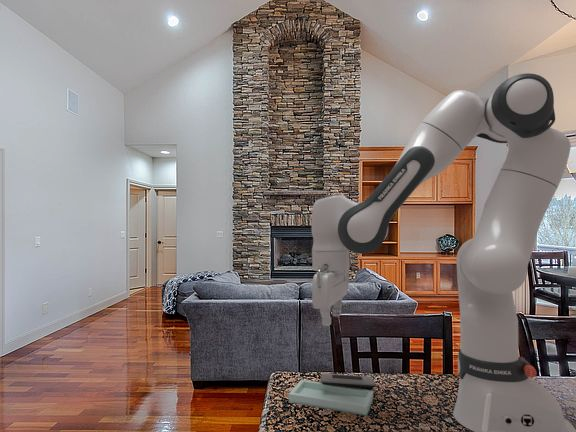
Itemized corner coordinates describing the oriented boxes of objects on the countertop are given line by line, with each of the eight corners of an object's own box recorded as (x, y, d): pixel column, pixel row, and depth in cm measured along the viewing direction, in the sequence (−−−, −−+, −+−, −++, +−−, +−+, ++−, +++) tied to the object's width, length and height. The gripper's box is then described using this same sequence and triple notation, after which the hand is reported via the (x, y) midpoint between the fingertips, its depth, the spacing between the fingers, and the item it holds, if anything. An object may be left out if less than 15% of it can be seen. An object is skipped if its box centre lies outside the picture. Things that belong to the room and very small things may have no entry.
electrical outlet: (371, 384, 104) (371, 375, 104) (375, 393, 94) (375, 383, 94) (321, 381, 105) (321, 372, 106) (320, 389, 95) (321, 379, 96)
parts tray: (373, 398, 94) (373, 390, 94) (366, 416, 86) (366, 406, 86) (301, 387, 101) (301, 379, 101) (288, 402, 92) (288, 393, 92)
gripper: (332, 267, 83) (334, 333, 83) (352, 258, 102) (353, 312, 102) (304, 266, 85) (305, 330, 85) (329, 258, 104) (330, 310, 104)
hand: (332, 320), depth 94 cm, fingers open, 8 cm apart
